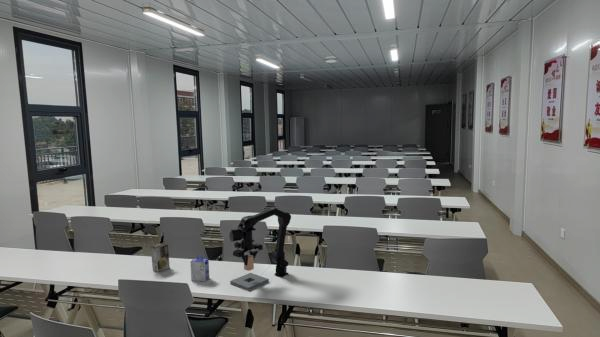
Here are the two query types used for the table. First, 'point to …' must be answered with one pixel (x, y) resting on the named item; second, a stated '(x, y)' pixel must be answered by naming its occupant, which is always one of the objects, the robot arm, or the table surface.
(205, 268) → the ink cartridge box
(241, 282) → the pocket plate
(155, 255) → the coffee box
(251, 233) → the robot arm
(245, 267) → the tan rectangular block
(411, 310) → the table surface
